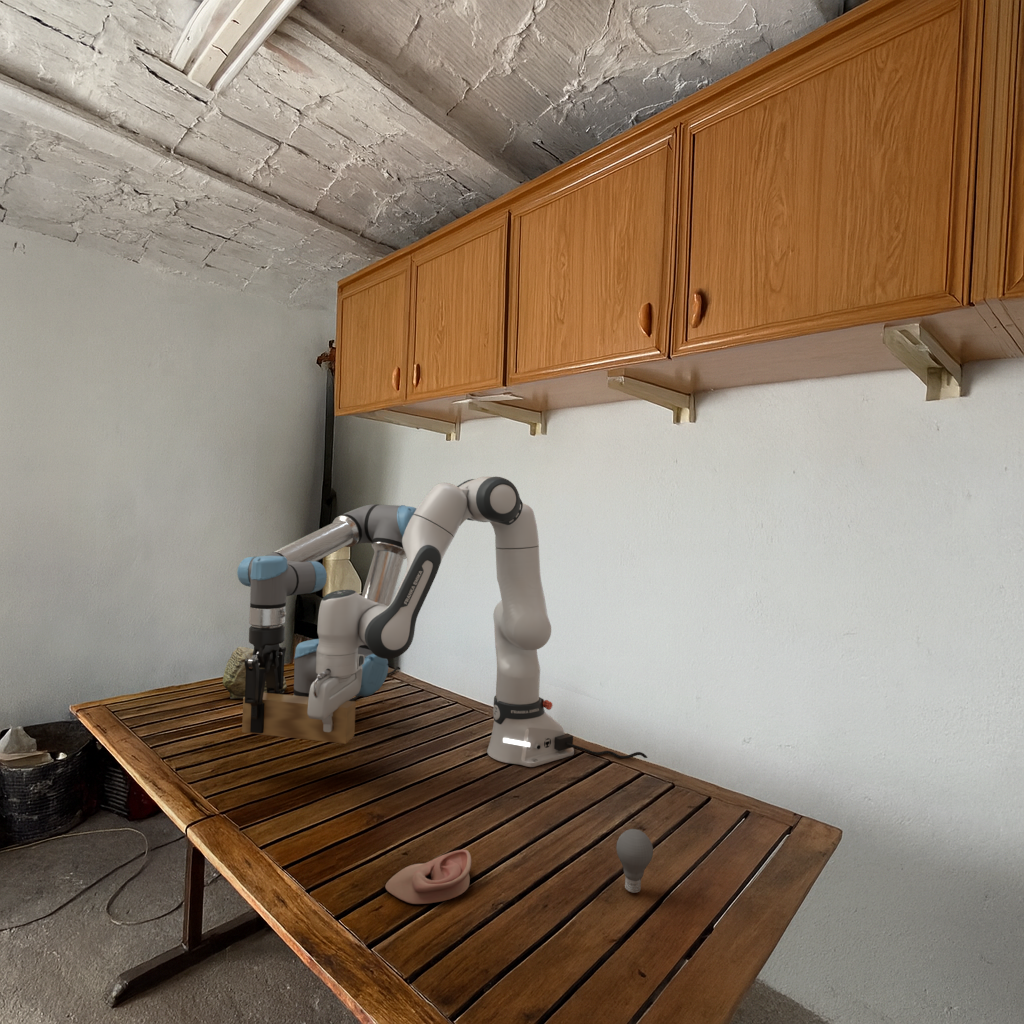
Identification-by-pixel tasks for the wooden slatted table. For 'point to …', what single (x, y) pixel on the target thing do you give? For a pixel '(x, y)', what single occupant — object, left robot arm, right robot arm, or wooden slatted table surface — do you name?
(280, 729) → the bar
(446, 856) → the anatomical model
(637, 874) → the light bulb
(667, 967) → the wooden slatted table surface
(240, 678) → the fossil
